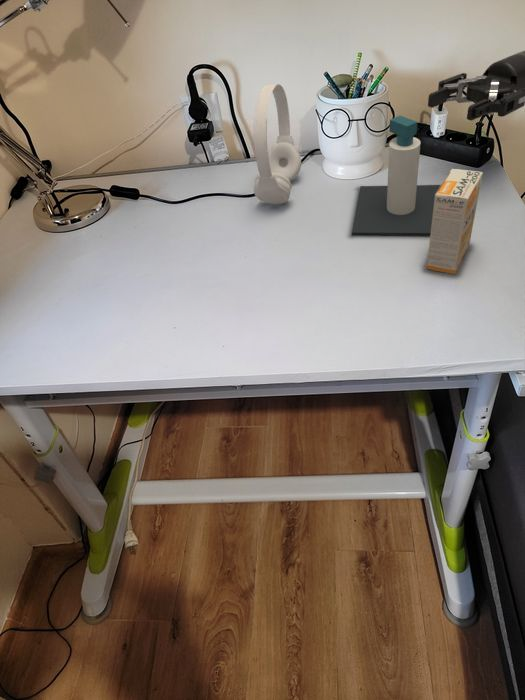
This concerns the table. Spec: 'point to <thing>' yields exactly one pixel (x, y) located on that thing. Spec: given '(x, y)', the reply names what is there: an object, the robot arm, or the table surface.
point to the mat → (382, 222)
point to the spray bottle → (403, 166)
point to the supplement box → (453, 219)
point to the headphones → (274, 150)
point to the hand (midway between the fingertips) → (448, 107)
